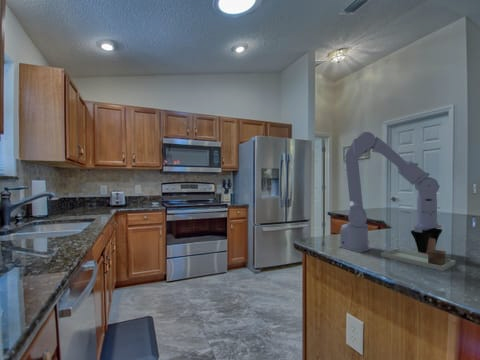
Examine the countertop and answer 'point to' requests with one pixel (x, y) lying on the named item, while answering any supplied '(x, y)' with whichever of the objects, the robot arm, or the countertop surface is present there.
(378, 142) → the robot arm
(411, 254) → the tray
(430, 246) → the brown rounded cylinder
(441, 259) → the walnut block
